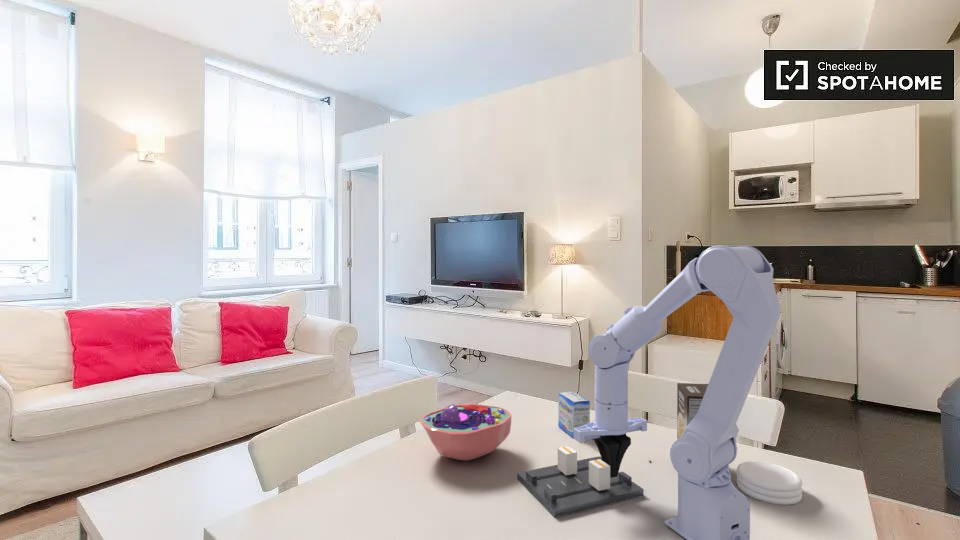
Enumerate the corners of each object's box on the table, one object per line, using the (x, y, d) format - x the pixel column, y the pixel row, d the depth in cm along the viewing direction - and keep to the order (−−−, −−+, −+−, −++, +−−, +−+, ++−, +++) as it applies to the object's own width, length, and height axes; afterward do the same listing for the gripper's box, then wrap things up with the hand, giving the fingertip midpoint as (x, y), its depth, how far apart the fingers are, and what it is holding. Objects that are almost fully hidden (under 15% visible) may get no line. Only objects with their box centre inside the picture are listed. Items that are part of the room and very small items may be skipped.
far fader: (577, 473, 86) (577, 451, 86) (566, 475, 85) (566, 453, 85) (568, 466, 89) (568, 445, 89) (557, 468, 88) (557, 447, 88)
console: (643, 495, 81) (643, 482, 81) (555, 517, 74) (554, 503, 74) (596, 462, 94) (596, 451, 94) (517, 479, 87) (517, 466, 87)
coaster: (797, 485, 85) (797, 466, 84) (807, 512, 76) (807, 491, 76) (735, 474, 89) (735, 456, 89) (737, 498, 80) (738, 478, 80)
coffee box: (675, 457, 96) (676, 381, 95) (708, 460, 95) (709, 383, 94) (686, 478, 87) (686, 395, 86) (722, 481, 86) (723, 396, 85)
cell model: (527, 460, 95) (527, 407, 95) (437, 481, 87) (436, 422, 86) (491, 432, 110) (490, 386, 110) (411, 448, 102) (410, 398, 101)
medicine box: (557, 427, 114) (557, 392, 113) (573, 424, 115) (573, 390, 115) (573, 439, 106) (573, 402, 106) (590, 436, 107) (590, 400, 107)
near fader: (610, 488, 81) (610, 465, 80) (598, 490, 80) (598, 467, 80) (599, 480, 83) (599, 458, 83) (588, 483, 82) (588, 460, 82)
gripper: (629, 389, 88) (629, 458, 89) (564, 398, 83) (564, 472, 84) (655, 400, 82) (655, 474, 82) (586, 410, 77) (586, 490, 77)
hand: (611, 474), depth 82 cm, fingers closed
